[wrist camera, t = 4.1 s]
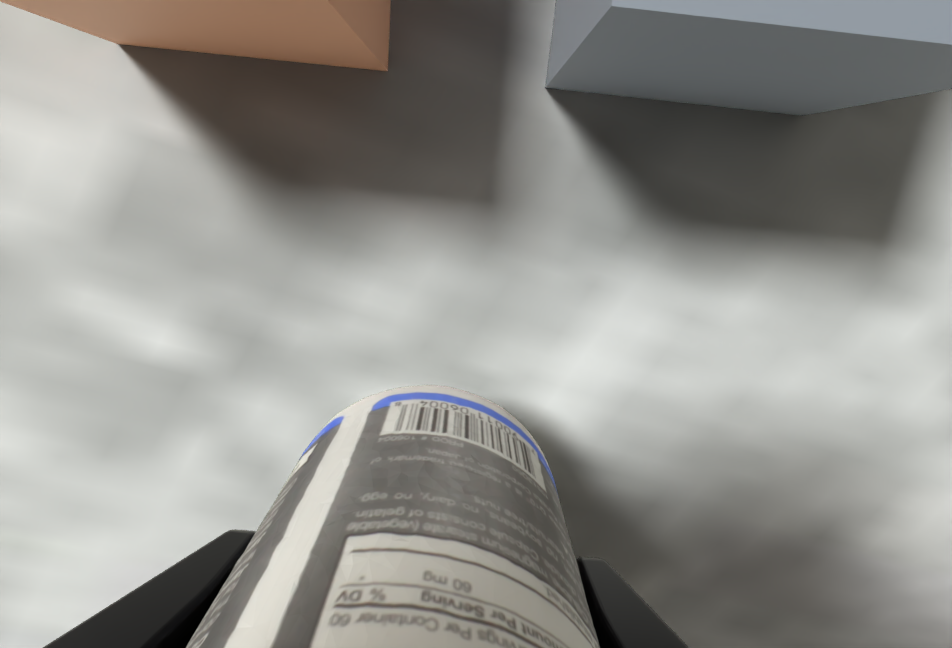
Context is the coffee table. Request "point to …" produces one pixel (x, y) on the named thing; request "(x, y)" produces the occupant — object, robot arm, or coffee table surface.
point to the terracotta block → (237, 27)
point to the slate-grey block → (753, 51)
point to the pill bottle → (409, 538)
